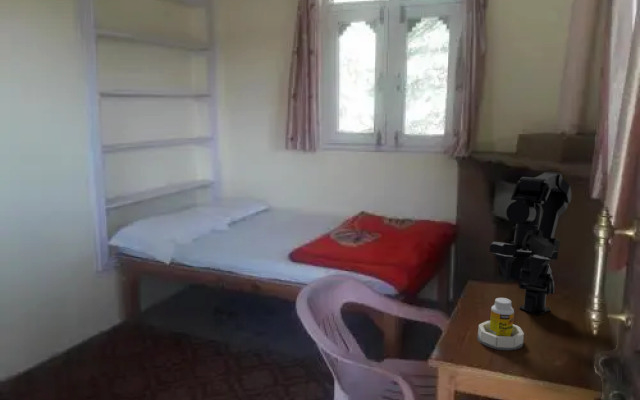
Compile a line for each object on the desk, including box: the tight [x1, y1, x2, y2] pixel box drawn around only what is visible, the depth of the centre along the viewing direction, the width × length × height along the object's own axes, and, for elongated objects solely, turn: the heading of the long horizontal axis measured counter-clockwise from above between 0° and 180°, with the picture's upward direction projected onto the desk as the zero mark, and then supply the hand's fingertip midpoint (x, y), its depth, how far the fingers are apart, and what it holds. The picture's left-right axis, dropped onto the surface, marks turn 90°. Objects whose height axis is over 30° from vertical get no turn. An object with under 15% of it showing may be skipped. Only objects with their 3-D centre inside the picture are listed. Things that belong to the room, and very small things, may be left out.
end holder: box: [477, 320, 525, 352], centre depth 137 cm, size 11×11×3 cm
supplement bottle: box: [489, 297, 515, 337], centre depth 136 cm, size 6×6×10 cm
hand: (519, 282), depth 141 cm, fingers open, 9 cm apart
